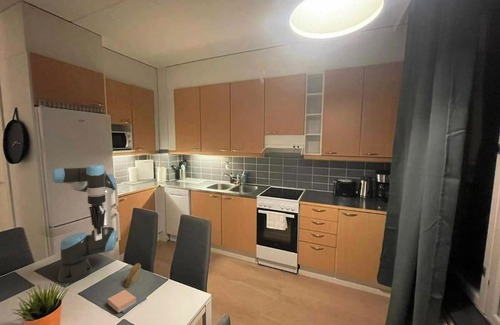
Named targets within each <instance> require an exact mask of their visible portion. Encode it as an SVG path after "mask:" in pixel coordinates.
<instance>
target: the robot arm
mask: <svg viewBox="0 0 500 325" xmlns="http://www.w3.org/2000/svg"><path fill="white" fill-rule="evenodd" d="M51 177H52V181H53V183H55V184H66V185H68V186H69V187H70V188H71V189H72V190H74V191H77V192H80V193H81V192H82V193H87V194H86V195H87V204H88V205H91V206H89V207H88V209H89V214H90V220H91V225H92V226H93V230H91V233H90V234H88V235H87V233H86V232H77V233H73V234H70V235H68V236H66V237H64V238H63V239H62V240H61V241H60V247H59V250H60V259H61V260H60V263H61V266H60V269H59V272H58V275H57V281H58V282H59V283H62V284H66V283H73V282H77V281H79V280H82V279H84V278H86V277H88V276H89V275H91V273H92V270H93V269H92V265H91V263H90V261H89V260H88V256H92V255H97V254H98V255H99V254H103V253H109V252H111V251H114V249H115V248H116V244H117V234H118V233H117V231H118V230H115V228H114V227H113V226H112V194H114V192H115V191H116V190H117V186H116V184H117V183H116V179H115V176H114V175H113V173H112V174H111V173H110V174H109V173H107V171H106V169H105V166H104V165H103V164H90V165H87V166H86V167H65V168H64V167H61V168H59V167H58V168H54V169H53V170H52V176H51Z"/></svg>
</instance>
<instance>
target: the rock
mask: <svg viewBox="0 0 500 325" xmlns="http://www.w3.org/2000/svg"><path fill="white" fill-rule="evenodd" d="M141 270H142V264H141V263H140V262H137V263H135V264H134V265H133V266H132V267H131V268H130V269H129V273H128V277H127V278H126V281H125V284H124V288H128V289H129V288H130V287H131V286H133V284H134V283H136V282H137V281H138V280H139V279H140V278H141Z"/></svg>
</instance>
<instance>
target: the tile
mask: <svg viewBox="0 0 500 325" xmlns="http://www.w3.org/2000/svg"><path fill="white" fill-rule="evenodd" d="M130 293H131V292H129V291H128V290H126V289H124V290H121V291H120V292H118V293H116V294H114V295H112V296H110V297H109V298H107V305H109V306H110V307H111V308H112V309H113V310H115V311H116V312H117V313H121V311H122V310H124V309H125V308H127V307H129V306H130V305H132V304H134V303H135V302H136V297H135V296H133V295H132V294H130Z"/></svg>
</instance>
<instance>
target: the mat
mask: <svg viewBox="0 0 500 325" xmlns="http://www.w3.org/2000/svg"><path fill="white" fill-rule="evenodd" d="M129 293H130V294H132V295H133V296H135V297H136V302H135V303H134V304H132V305H130V306H129V307H127V308H125V309H124V310H122V311H120V313H122V314H125V313H127V312H128V311H130V310H132V309H133V308H135V307H137V306H138V305H140V304H141V303H143V302H145V301H146V300H147V297H146V296H144V295H143V294H142V293H140V292H139V291H137V290H132V291H131V292H129Z"/></svg>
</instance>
